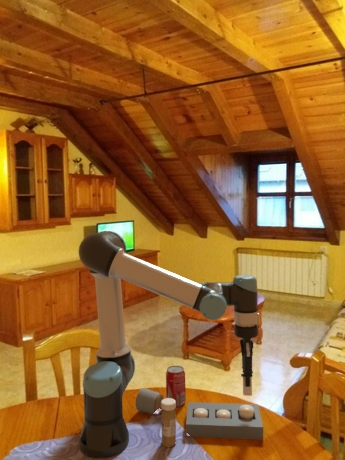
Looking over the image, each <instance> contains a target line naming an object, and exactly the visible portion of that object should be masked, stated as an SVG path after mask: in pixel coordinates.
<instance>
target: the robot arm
mask: <svg viewBox="0 0 345 460" xmlns="http://www.w3.org/2000/svg"><path fill="white" fill-rule="evenodd" d="M78 258H79V260H80V263H82V265H83V266H84V267H85V268H87V269H89V274H90V275H91V276H93V277H94V281H95V297H96V308H97V309H96V310H97V322H98V333H99V345H100V346H99V348H98V349H97V350H96V354H95V355H96V363H95V364H91V365H90V366H88V367H87V368H86V370H85V372H84V374H83V380H82V388H83V412H84V414H83V415H84V418H83V419H84V420H83V424H82V427H81V431H80V435H79V440H78V441H79V442H78V444H79V449H80V451H81V453H82V454H84V455H86V456H87V457H91V458H98V459H100V458H101V459H103V458H109V457H112V456H116V455H117V454H119V453H121V452H123V451H124V450H125V449H126V448H127V447H128V445H129V443H130V434H129V433H130V432H129V429H128V426H127V424H126V421H125V418H124V415H123V413H124V411H123V409H124V407H123V406H124V405H123V396H124V393H125V391H126V389H127V387H128V385H129V384H130V382H131V380H132V379H133V377H134V374H135V370H136V363H135V359H134V357H133V355H132V352H131V351H132V350H131V347H130V346H129V345H128V344H127V343H126V333H125V318H124V315H125V314H124V305H123V304H124V303H123V291H122V280H124V281H125V282H128V283H130V284H133V285H135V286H137V287H139V288H141V289H145V290H147V291H149V292H151V293H154V294H157V295H159V296H161V297H164V298H166V299H168V300H171V301H173V302H176V303H177V304H181V305H183V306H186V307H188V308H190V309H192V310H194V311H197V312H200V314H201V315H202V316H203V317H204V318H206V319H207V320H210V321H216V320H217V321H218V320H219V319H221V318H222V317H223V316H224V315H225V313H226V311H227V309H228V308H227V307H229V306H231V307H232V306H233V322H234V326H233V328H234V335H235V336H236V338H239V339H240V340H239V345H240V353H241V363H242V364H241V365H242V366H241V369H242V373H240V375H241V376H240V377H242V394H243V396H244V397H245V396H247V397H248V396H251V397H252V396H253V382H252V380H253V379H252V378H253V373H254V371H253V353H254V352H253V351H254V350H253V349H254V342H253V339H254V338H257V337H258V336H259V325H258V317H260V313H259V312H258V303H259V302H258V292H259V291H258V284H257V283H258V282H257V278H256V277H255V276H253V275H248V274H241V275H235V276H234V277H233V278H232V281H230V282H220V281H219V282H218V281H217V282H215V281H214V282H209V281H207V282H196V281H194V280H191V279H189V278H186V277H183V276H181V275H179V274H177V273H174V272H172V271H170V270H167V269H165V268H162V267H160V266H158V265H155V264H153V263H150V262H148V261H146V260H143V259H140V258H138V257H135V256H133V255H131V254H129V253H127V244H126V241H125V239H124V238H123V236H121V235H120V234H119V233H118V232H115V231H110V230H103V231H99V232H95V233H91V234H89V235H87V236H85V237H84V238H83V239H82V241H80V244H79V246H78Z"/></svg>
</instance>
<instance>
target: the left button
mask: <svg viewBox="0 0 345 460" xmlns="http://www.w3.org/2000/svg"><path fill="white" fill-rule="evenodd" d="M194 417H200V418H208V411H207V410H206V409H203V408H198V409H195V410H194Z"/></svg>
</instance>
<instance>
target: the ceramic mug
mask: <svg viewBox="0 0 345 460" xmlns="http://www.w3.org/2000/svg"><path fill="white" fill-rule="evenodd" d="M163 399H165V397H164V395H163V394H161V393H160V392H158V391H153V390H152V389H148V388H145V387H142V388H141V389H140V390H139V391H138V393H137V394H136V398H135V409H136V410H137V411H138V412H143V413H145V414H150V415H153V413H154V412H155V411H156V410H157V409H159V408H160V409H161V401H162V400H163Z"/></svg>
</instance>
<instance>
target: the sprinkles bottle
mask: <svg viewBox="0 0 345 460" xmlns="http://www.w3.org/2000/svg"><path fill="white" fill-rule="evenodd" d="M161 409H162V410H161V445H162V446H163V447H165V448H172V447H174V446H175V445H176V444H175V442H176V443H177V438H176V437H177V436H176V435H177V434H176V433H177V428H176V427H177V421H176V420H177V417H176V409H177V407H176V401H175V400H174V399H172V398H165V397H164V399H163V400H162V401H161ZM174 444H175V445H174ZM173 445H174V446H173ZM171 446H172V447H171Z"/></svg>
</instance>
